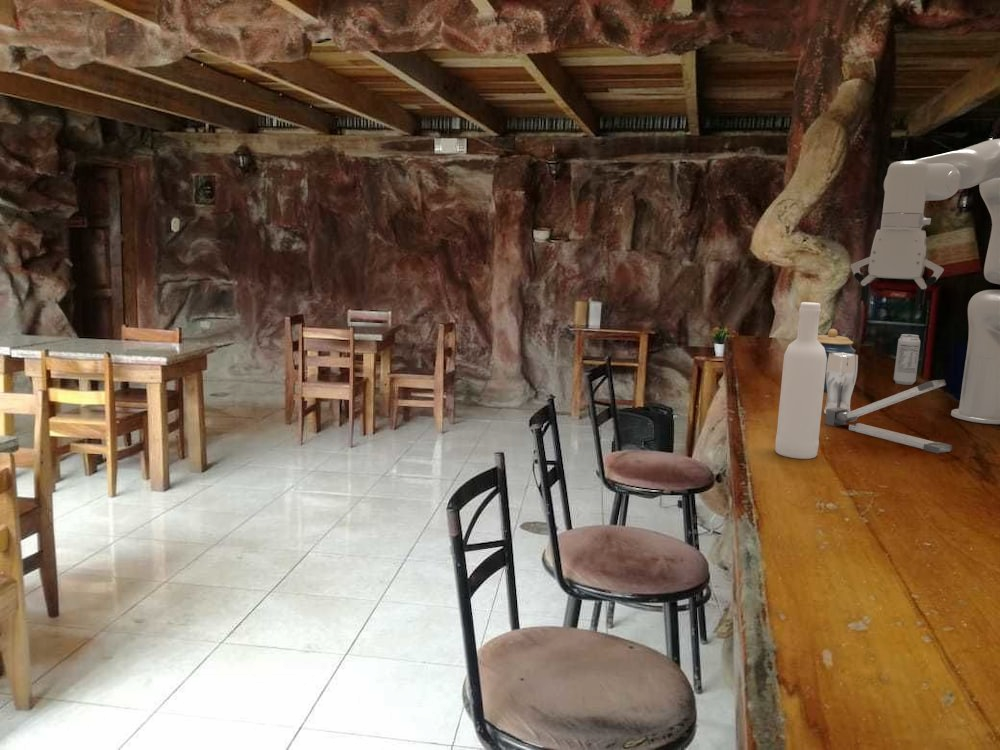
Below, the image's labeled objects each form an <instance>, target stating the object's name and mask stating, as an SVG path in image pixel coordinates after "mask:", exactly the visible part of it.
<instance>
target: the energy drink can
mask: <svg viewBox="0 0 1000 750" xmlns="http://www.w3.org/2000/svg"><path fill="white" fill-rule="evenodd" d="M920 348H921V339H920V335H918V334H911V333H910V334H909V333H902V334H900V337H899V338H898V340H897V349H896V357H895V366H894V371H893V372H894V373H893V381H895V384H898V385H906V386H912V385H914V383H915V382H916V380H917V374H918V373H917V372H918V364H919V357H920Z"/></svg>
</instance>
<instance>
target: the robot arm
mask: <svg viewBox="0 0 1000 750" xmlns="http://www.w3.org/2000/svg"><path fill="white" fill-rule="evenodd" d="M977 185H979V193H980V196H981V198H982V200H983V202H984V203H985V206H986V208H987V210H988V212H989V214H990V218H991V224H992V225H991V231H990V237H989V241H988V248H987V252H986V256H985V262H984V267H983V275H984V276H983V277H984V279H985V280H986V281H988V282H989V283H992V284H995V285H996V284H997V285H1000V138H995V139H988V140H985V141H982V142H979V143H977V144H973V145H970V146H967V147H965V148H960V149H958V150H953V151H949V152H945V153H941V154H936V155H932V156H927V157H921V158H917V159H914V160H900V161H894V162H892V163H891V164H889V166H888V168H887V172H886V176H885V178H884V181H883V191H884V196H883V197H884V198H883V207H882V214H881V221H880V229H876V232H875V235H874V237H873V242H872V246H871V250H870V255H869V256H868V257H866V258H863V259H861V260H858V261H856V262H853V263H851V264H850V270H851V271H852V273H853V276H854V278H855V279H856V281H858V283H859V284H860V285H861V293H860V295H861V296H860V301H862V304H863V306H867V305H870V299H871V298H870V297H871V292H872V291H871V289H872V287H871V283H872V282H873V280H875V279H876V278H880V279H881V278H882V279H896V280H897V279H898V280H899V279H900V280H914V282H915V283H916V285H917V286H918V288H917V289H916V293H915V300H914V308H915V310H917V309H918V310H919V309H920V307H921V306H924V303H925V296H926V295H925V294H926V289H928V288H929V287H930V286H932V285H933V284H934V283H936V282H937V280H938V279H939V278H940V276H941V275H942V274H943V272H944V270H945V269H944V268H943V267H942V266H940V265H938V264H936V263H934V262H932V261H930V260H928V259H927V258H926V256H927V255H926V254H927V253H926V252H927V233H926V230H922V229H923V227H924V226H927V225H928V226H929V225H931V221H932V218H931V217H927V216H925V215H924V212H925V203H926V202H927V201H943V200H947V199H949V198H951V197H954V195H956V193H957V192H958V191H959V190H964V189H970V188H972V187H975V186H977ZM866 265H868V267H867V269H868V270H867V272H868V275H867V276H864V275H863V274H862V273H861V270H860V268H861V267H863V266H866ZM925 267H926V268H927V269H930V270H932V271H933V274H932V275H931V276H930V277H929V278H928V279H926V280H924V278H923V275H924V273H925ZM967 321H968V340H967V349H966V356H965V362H964V370H963V377H962V384H961V391H960V392H961V393H960V397H959V398H960V400H959V406H958V408H954V409H952V410H951V413H950V416H952V417H953V418H955V419H959V420H962V421H966V422H971V423H977V424H978V423H979V424H986V425H1000V289H985V290H982V291H979V292H977V293H975V294H974V295H973V296H972V297H971V298H970V300H969V301H968V305H967Z"/></svg>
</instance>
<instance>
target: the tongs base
mask: <svg viewBox="0 0 1000 750" xmlns="http://www.w3.org/2000/svg"><path fill="white" fill-rule="evenodd" d="M840 412H848V409H843V408H839V407H838V408H830V409H826V414H825V419H824V424H825V425H827V426H832V427H837V426H839V427H840V426H845V425H847V422H845V423H839V422H838V421H837V419H836V415H837V414H838V413H840ZM848 431H852V432H856V433H860V434H864V435H867V436H872V437H875V438H879V439H882V440H887V441H890V442H894V443H898V444H902V445H906V446H909V447H913V448H917V449H921V450H923V451H927V452H929V453H933V454H934V453H935V454H942V453H947V452H951V451H952V449H953V448H952V447H953V445H952V444H948V443H944V442H940V441H934V440H928V439H924V438H922V437H921V438H920V437H917V436H913V435H909V434H905V433H900V432H896V431H893V430H889V429H884V428H880V427H876V426H872V425H867V424H864V423H860V422H859V423H851V424H848Z"/></svg>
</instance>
